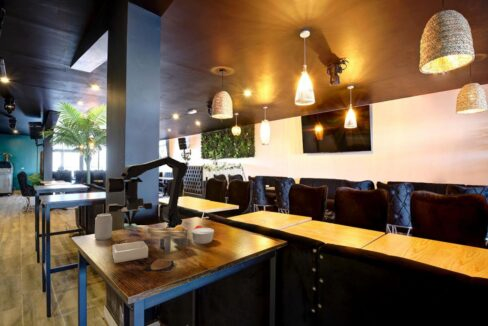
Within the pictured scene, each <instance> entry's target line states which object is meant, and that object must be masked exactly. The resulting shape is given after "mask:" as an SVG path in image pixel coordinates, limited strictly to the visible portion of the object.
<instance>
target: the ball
mask: <svg viewBox="0 0 488 326" xmlns="http://www.w3.org/2000/svg"><path fill="white" fill-rule="evenodd" d="M182 226H183V225H182V224H181V225H178V226H176V227H175V229H174V231H183V227H182Z"/></svg>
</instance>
